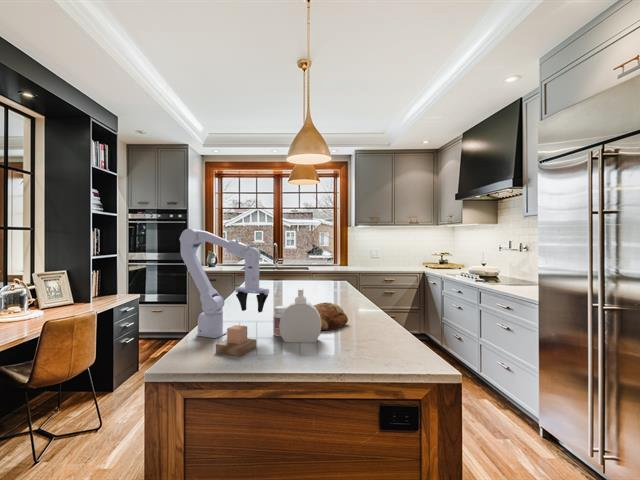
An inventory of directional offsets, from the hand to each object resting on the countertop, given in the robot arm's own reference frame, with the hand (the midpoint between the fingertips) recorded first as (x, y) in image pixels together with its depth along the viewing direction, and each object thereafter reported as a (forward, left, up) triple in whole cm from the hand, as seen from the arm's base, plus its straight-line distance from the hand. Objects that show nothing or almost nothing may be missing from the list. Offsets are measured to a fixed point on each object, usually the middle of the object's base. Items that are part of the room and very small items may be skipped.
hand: (252, 311), depth 148 cm
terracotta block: (+5, -18, -7) cm, 19 cm away
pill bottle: (+10, +6, -10) cm, 15 cm away
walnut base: (+5, -18, -10) cm, 21 cm away
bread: (+19, +26, -10) cm, 34 cm away
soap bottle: (+21, +1, -10) cm, 23 cm away
